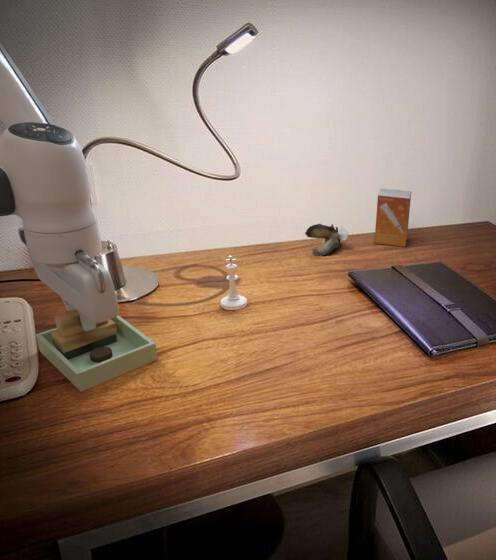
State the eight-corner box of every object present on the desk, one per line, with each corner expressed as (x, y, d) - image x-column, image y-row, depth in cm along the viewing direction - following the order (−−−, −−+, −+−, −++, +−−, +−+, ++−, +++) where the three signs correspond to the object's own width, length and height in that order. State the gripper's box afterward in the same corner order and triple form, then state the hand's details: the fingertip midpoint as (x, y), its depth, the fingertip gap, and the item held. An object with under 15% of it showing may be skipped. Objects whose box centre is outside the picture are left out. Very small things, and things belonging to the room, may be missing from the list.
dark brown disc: (87, 357, 81) (85, 351, 80) (107, 349, 83) (106, 344, 82) (95, 365, 79) (94, 359, 79) (116, 357, 81) (115, 351, 81)
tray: (40, 355, 81) (35, 334, 80) (114, 328, 90) (111, 309, 88) (82, 396, 74) (76, 374, 72) (158, 363, 82) (155, 342, 80)
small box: (374, 244, 133) (377, 194, 127) (377, 235, 139) (379, 187, 133) (405, 247, 133) (410, 198, 127) (407, 238, 139) (411, 190, 133)
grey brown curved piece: (323, 234, 133) (298, 237, 126) (338, 215, 130) (314, 217, 122) (340, 257, 131) (316, 261, 124) (356, 238, 128) (332, 242, 120)
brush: (108, 332, 87) (101, 298, 84) (119, 341, 85) (112, 306, 82) (55, 352, 81) (45, 315, 78) (65, 361, 79) (56, 324, 76)
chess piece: (248, 308, 99) (246, 260, 95) (221, 311, 98) (217, 262, 93) (246, 296, 103) (243, 250, 99) (219, 299, 102) (215, 252, 97)
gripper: (123, 258, 72) (137, 342, 78) (59, 217, 83) (76, 294, 89) (73, 271, 67) (92, 359, 74) (12, 226, 78) (33, 307, 84)
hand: (83, 323), depth 81 cm, fingers closed on brush, 2 cm apart
